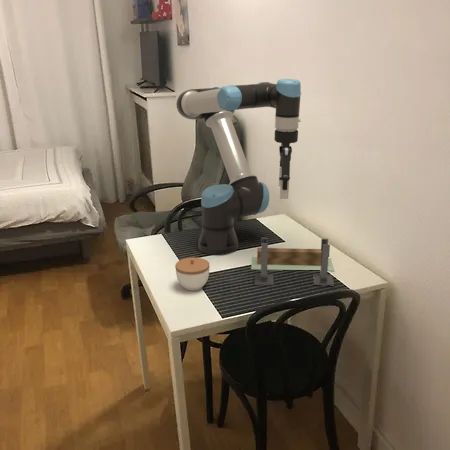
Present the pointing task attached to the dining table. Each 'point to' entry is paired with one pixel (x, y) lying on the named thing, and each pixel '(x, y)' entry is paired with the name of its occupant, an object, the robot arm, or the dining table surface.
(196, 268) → the lidded jar
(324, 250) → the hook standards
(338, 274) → the dining table surface
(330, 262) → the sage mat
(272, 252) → the walnut bar
